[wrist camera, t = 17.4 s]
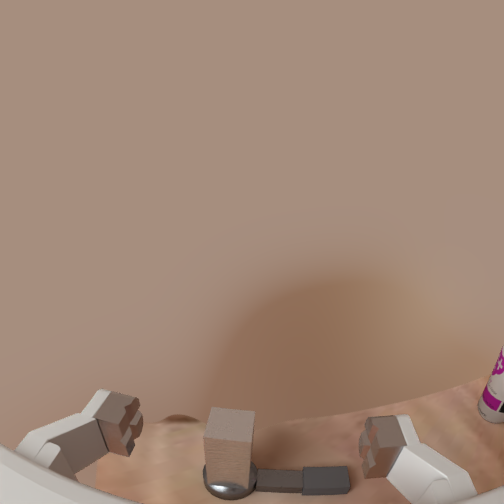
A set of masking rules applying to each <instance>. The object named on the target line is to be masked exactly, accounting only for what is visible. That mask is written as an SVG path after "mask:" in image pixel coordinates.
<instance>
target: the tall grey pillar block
mask: <svg viewBox="0 0 504 504" xmlns="http://www.w3.org/2000/svg"><path fill="white" fill-rule="evenodd" d="M254 420H255V412H254V411H245V410H234V409H226V408H217V407H212V408H211V412H210V415H209V419H208V422H207V426H206V429H205V433H204V436H203V439H204V451H205V462H206V472H207V482H208V485H215V486H223V487H231V488H240V489H248V485H249V477H250V468H251V459H252V447H253V434H254Z"/></svg>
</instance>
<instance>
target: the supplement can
mask: <svg viewBox="0 0 504 504" xmlns="http://www.w3.org/2000/svg"><path fill="white" fill-rule="evenodd" d="M477 406H478V410H479V413H480V415H481V416H482V417H483V418H484V419H485V420H487V421H489V422H491V423H501V422H504V345H503V347H502V350H501V352H500V355H499V357H498V360H497V362H496V365H495V367H494V369H493V372H492V374H491V376H490V378H489V381H488V383H487V385H486V387H485V389H484V391H483V394H482V396H481V398H480V400H479V402H478V405H477Z"/></svg>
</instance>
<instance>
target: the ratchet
mask: <svg viewBox="0 0 504 504" xmlns="http://www.w3.org/2000/svg"><path fill="white" fill-rule="evenodd" d="M203 478H204V484H205V487H206V489H207V490H208V491H209V492H210V493H211V494H212V495H214V496H215V497H217V498H220V499H224V500H238V499H242V498H244V497H246V496H248V495H249V494H251V493H252V492H253V490H254V489H255V487H256V491H261V492H279V493H302V495H337V494H347V492H348V490H349V488H350V482H349V476H348V469H347V466H339V467H303V471H291V470H269V469H258V474H257V469H256V466H255V465H254V463H253V462H252V461H251V468H250V477H249V485H248V489H240V488H231V487H223V486H215V485H208V482H207V472H206V464H205V466H204V469H203ZM256 483H257V484H256Z"/></svg>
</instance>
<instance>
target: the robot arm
mask: <svg viewBox="0 0 504 504" xmlns="http://www.w3.org/2000/svg"><path fill="white" fill-rule="evenodd" d="M139 407H140V403H139V399H138V398H136V397H132V396H128V395H124V394H121V393H117V392H112V391H108V390H105V389H100V390H98V391H97V393H96V394H95V395H94V397H93V398H92V399H91V401H90V402H89V403H88V405H87V406H86V407H85V409H84V410H83V411H82V413H81V414H79V413H76V414H74V415H71V416H69V417H67V418H64V419H61V420H59V421H56V422H54V423H51V424H49V425H46V426H43V427H41V428H38V429H35V430H33V431H30V432H29V433H28V434H27V435H26V437H25V438H24V439H23V440H22V442H21V443H20V444H19V445H18V446H17V448H16V449H15V450H14V451H13V450H11V449H10V448H8V447H6V446H5V445H3V444H1V443H0V504H143V503H139V502H136V501H132V500H129V499H125V498H122V497H119V496H116V495H113V494H110V493H107V492H104V491H101V490H98V489H96V488H93V487H90V486H88V485H85V484H82V483H80V482H79V481H78V479H77V478H76V476H75V473H77V472H79V471H80V470H82V469H84V468H85V467H87V466H89V465H90V464H92V463H93V462H95V461H97V460H98V459H100V458H101V457H103V456H104V455H106V454H107V453H108V452H111V453H115V454H119V455H122V456H126V457H129V456H130V454H131V452H132V450H133V448H134V446H135V443H134V439H136V438H138V437H139V436H140V434H141V432H142V428H143V416H142V413H141V412H140V411H139V410H138V409H139ZM365 428H366V430H365V431H363V432H362V433H361V436H360V439H359V454H360V457H361V458H363V459H364V461H363V464H362V469H363V473H364V478H365V479H369V478H381V477H387V479H388V480H389V481H390V482H391V483H392V484H393V485H394V486H395V487H396V488H397V489H398V490H399V491H400V492H401V493H402V494H403V495H404V496H405V497H406V498H407V499H408V500H409V501H410V502H411V503H412V504H504V485H503V486H500V487H498V488H495V489H492V490H490V491H487V492H484V493H482V494H479V495H478V494H477V492H476V490H475V487H474V485H473V483H472V480H471V478H470V476H469V474H468V472H467V471H465V470H464V469H462V468H461V467H459V466H458V465H456V464H455V463H453V462H452V461H450V460H448V459H447V458H445V457H444V456H442V455H441V454H439V453H438V452H436V451H435V450H433V449H432V448H430V447H429V446H428V445H426V444H425V443H424V444H421V443H420V440H419V438H418V436H417V433H416V431H415V429H414V426H413V424H412V422H411V419H410V417H409V415H407V414H401V415H394V416H393V415H391V416H378V417H368V418H367V420H366V422H365Z"/></svg>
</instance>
